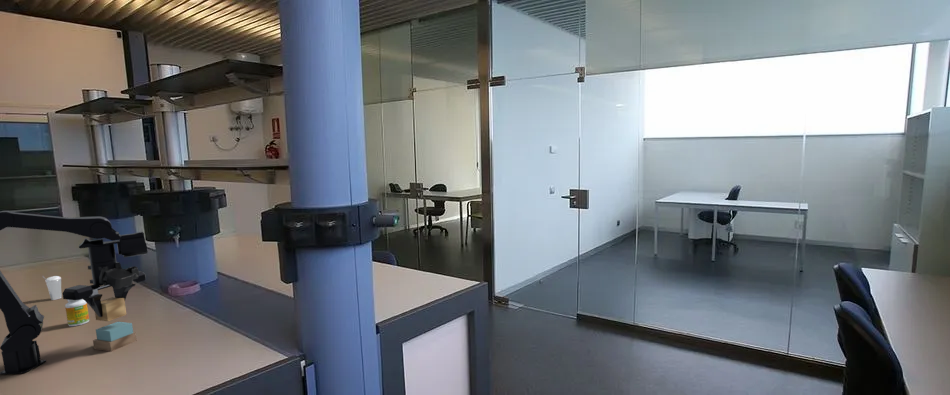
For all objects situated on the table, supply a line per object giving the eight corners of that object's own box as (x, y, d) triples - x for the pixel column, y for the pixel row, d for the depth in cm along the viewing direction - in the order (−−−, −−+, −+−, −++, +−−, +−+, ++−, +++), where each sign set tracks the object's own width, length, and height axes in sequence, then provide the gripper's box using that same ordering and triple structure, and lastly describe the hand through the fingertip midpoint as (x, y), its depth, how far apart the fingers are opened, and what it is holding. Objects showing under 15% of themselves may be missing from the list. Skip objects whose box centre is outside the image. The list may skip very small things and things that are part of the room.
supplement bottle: (76, 327, 146) (72, 298, 145) (63, 326, 147) (59, 298, 146) (93, 320, 151) (89, 292, 150) (81, 320, 153) (76, 292, 151)
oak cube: (108, 321, 126) (105, 304, 126) (95, 319, 128) (93, 303, 127) (126, 314, 131) (124, 298, 130) (114, 313, 132) (112, 297, 132)
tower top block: (111, 341, 126) (109, 331, 126) (97, 339, 128) (95, 329, 128) (133, 332, 132) (131, 323, 132) (119, 331, 134) (118, 321, 134)
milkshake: (49, 298, 179) (44, 274, 178) (66, 296, 181) (62, 272, 180) (43, 301, 175) (39, 277, 174) (61, 299, 177) (57, 274, 176)
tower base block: (111, 352, 126) (110, 342, 126) (94, 350, 128) (92, 340, 128) (136, 341, 133) (135, 332, 133) (120, 339, 135) (118, 330, 135)
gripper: (85, 271, 116) (94, 328, 118) (156, 253, 134) (162, 303, 136) (57, 269, 120) (66, 325, 121) (129, 252, 137) (136, 301, 139)
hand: (110, 313), depth 129 cm, fingers closed on oak cube, 5 cm apart
